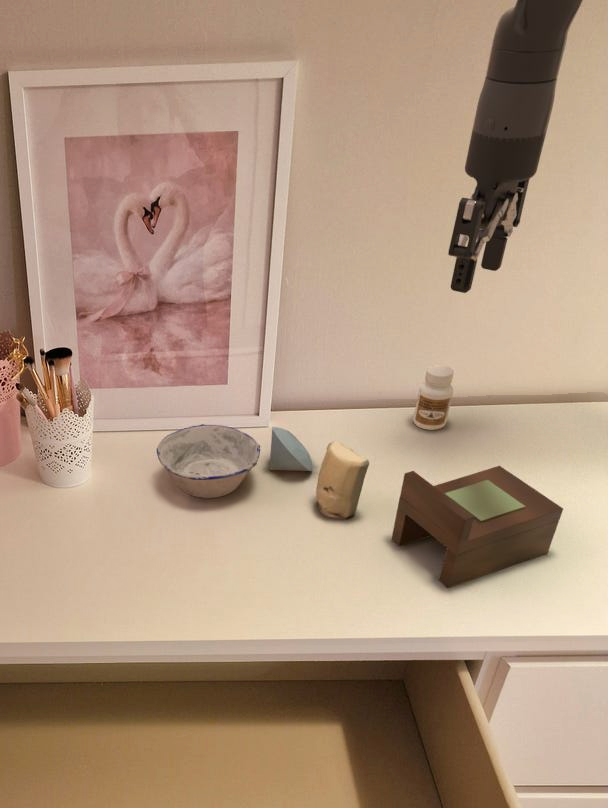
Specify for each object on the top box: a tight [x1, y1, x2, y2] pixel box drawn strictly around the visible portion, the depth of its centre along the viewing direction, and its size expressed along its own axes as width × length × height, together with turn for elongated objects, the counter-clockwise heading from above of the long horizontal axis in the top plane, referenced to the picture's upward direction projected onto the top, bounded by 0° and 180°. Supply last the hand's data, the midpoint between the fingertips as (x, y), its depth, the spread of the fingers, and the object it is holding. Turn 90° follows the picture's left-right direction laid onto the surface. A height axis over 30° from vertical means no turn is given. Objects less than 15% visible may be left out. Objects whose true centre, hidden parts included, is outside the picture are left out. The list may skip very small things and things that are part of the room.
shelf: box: [390, 465, 564, 589], centre depth 97 cm, size 14×10×9 cm
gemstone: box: [269, 426, 313, 472], centre depth 112 cm, size 8×8×5 cm
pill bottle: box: [412, 364, 454, 431], centre depth 118 cm, size 4×4×8 cm
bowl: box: [156, 423, 261, 499], centre depth 110 cm, size 13×13×5 cm
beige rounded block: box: [315, 441, 370, 520], centre depth 103 cm, size 6×5×8 cm
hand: (475, 279), depth 104 cm, fingers open, 8 cm apart
